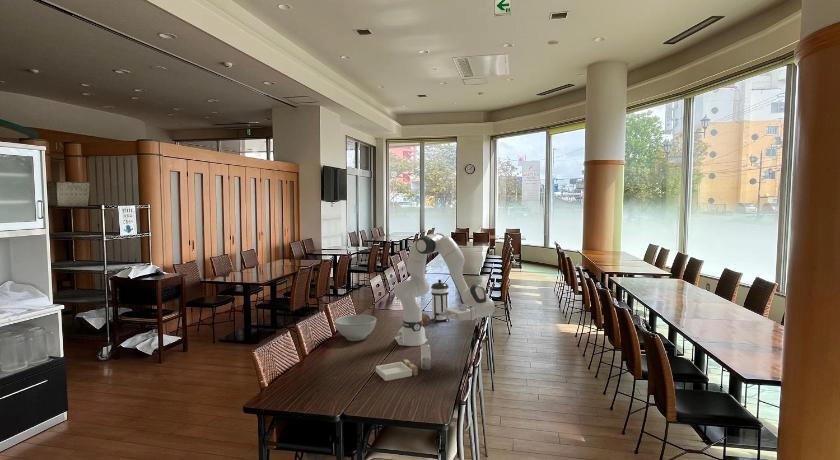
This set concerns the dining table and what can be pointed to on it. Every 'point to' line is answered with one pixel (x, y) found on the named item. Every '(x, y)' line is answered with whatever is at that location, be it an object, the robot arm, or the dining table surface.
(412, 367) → the tan wavy block
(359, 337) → the decorative bowl
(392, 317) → the dining table surface
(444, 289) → the coffee press
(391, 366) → the tray
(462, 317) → the robot arm
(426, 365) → the steel canister
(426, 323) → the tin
